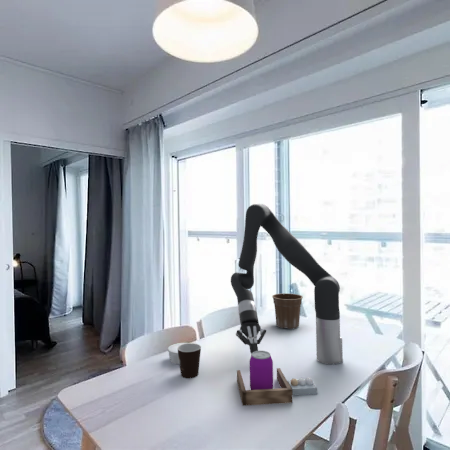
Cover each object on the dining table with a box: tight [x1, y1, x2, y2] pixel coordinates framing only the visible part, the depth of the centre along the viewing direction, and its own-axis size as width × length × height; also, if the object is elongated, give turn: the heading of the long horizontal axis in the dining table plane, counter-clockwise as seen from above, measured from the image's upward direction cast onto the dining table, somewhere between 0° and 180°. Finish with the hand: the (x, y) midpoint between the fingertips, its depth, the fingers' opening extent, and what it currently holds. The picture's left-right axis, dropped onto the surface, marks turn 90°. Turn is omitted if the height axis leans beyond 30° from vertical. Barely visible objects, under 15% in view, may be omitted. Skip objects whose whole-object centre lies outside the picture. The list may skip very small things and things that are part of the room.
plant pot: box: [271, 292, 303, 330], centre depth 176 cm, size 16×16×16 cm
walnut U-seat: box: [236, 367, 293, 406], centre depth 107 cm, size 15×15×4 cm
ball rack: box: [286, 377, 318, 396], centre depth 107 cm, size 8×6×4 cm
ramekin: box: [167, 342, 188, 366], centre depth 133 cm, size 11×11×5 cm
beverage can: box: [249, 350, 274, 390], centre depth 108 cm, size 8×8×12 cm
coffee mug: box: [178, 342, 202, 380], centre depth 121 cm, size 12×9×10 cm
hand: (254, 354), depth 125 cm, fingers closed
